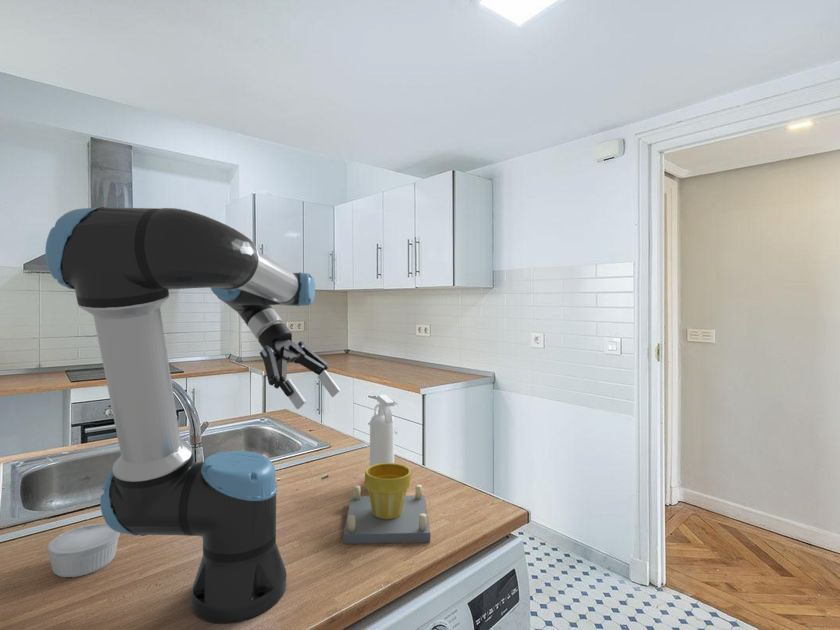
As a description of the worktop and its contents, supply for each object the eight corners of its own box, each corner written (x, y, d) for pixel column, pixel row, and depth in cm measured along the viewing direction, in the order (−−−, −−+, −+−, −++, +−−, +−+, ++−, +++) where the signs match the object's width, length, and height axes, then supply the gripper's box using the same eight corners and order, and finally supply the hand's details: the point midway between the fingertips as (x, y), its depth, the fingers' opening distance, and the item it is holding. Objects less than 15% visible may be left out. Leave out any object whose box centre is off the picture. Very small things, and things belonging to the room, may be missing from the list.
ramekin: (109, 541, 95) (109, 516, 94) (129, 562, 87) (129, 535, 87) (40, 566, 86) (39, 538, 86) (56, 590, 79) (55, 560, 79)
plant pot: (404, 500, 111) (404, 460, 110) (415, 520, 101) (415, 476, 100) (361, 505, 108) (361, 464, 107) (368, 526, 98) (369, 481, 98)
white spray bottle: (384, 474, 131) (384, 388, 129) (401, 492, 120) (401, 399, 118) (362, 478, 128) (361, 391, 126) (377, 497, 118) (376, 402, 116)
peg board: (430, 542, 96) (430, 518, 96) (343, 543, 95) (343, 520, 94) (424, 503, 114) (424, 483, 113) (351, 504, 113) (351, 484, 112)
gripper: (294, 337, 125) (339, 398, 120) (222, 346, 103) (274, 421, 97) (311, 319, 123) (357, 380, 118) (241, 324, 100) (295, 400, 95)
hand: (320, 399), depth 108 cm, fingers open, 13 cm apart
